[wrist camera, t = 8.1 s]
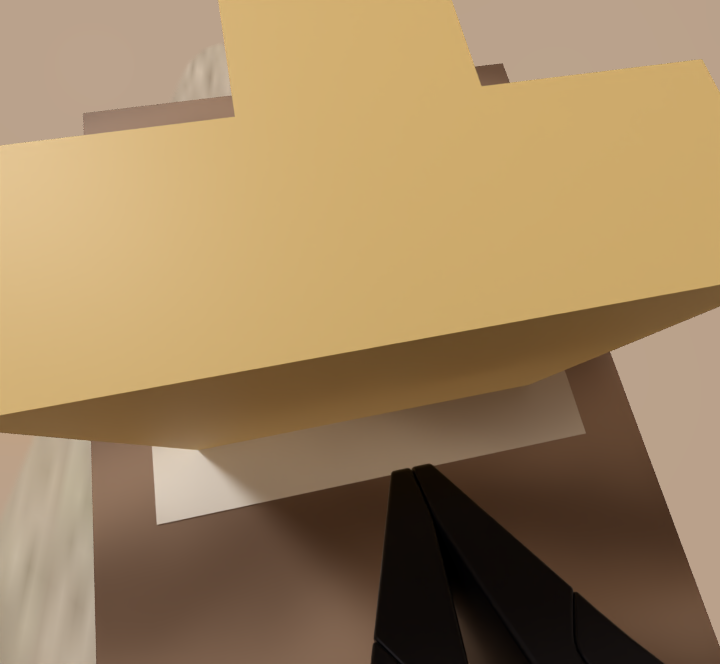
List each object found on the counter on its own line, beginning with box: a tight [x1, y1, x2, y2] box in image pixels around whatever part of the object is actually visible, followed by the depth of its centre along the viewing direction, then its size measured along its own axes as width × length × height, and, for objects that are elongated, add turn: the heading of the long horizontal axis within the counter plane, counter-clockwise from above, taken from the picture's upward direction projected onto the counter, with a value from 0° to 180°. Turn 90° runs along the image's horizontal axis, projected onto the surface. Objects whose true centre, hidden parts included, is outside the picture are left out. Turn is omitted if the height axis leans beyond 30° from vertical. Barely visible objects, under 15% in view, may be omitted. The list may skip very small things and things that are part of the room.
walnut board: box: [83, 64, 720, 664], centre depth 17 cm, size 25×19×1 cm
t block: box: [0, 0, 720, 450], centre depth 12 cm, size 12×12×10 cm
